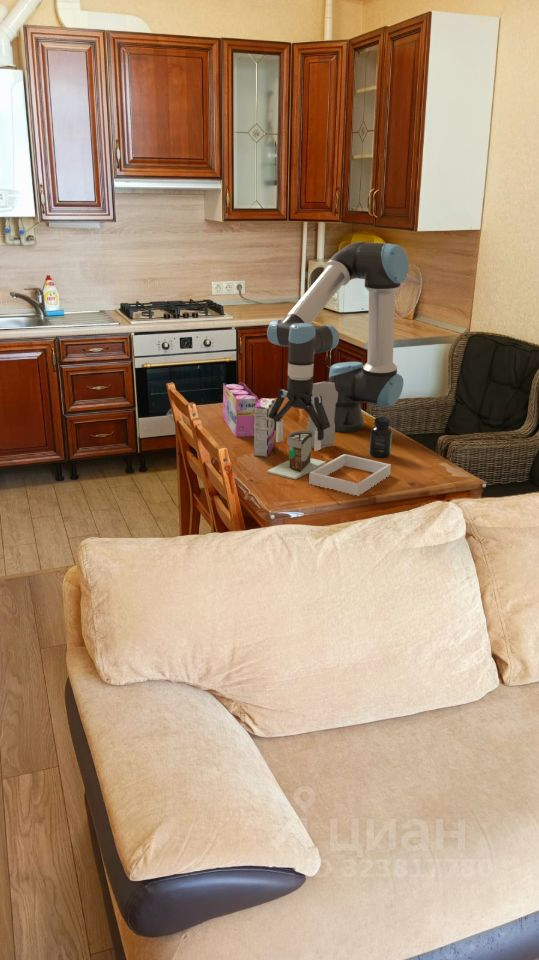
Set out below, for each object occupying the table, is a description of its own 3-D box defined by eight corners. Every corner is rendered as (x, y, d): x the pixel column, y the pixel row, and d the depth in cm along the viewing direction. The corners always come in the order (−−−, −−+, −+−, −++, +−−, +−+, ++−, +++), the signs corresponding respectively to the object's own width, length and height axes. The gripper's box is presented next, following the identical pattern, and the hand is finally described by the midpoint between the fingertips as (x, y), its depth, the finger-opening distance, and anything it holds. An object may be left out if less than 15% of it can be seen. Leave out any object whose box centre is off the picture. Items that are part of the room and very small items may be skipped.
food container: (293, 458, 245) (294, 428, 242) (311, 461, 243) (313, 430, 240) (280, 470, 234) (281, 439, 231) (299, 473, 232) (300, 441, 229)
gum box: (221, 418, 288) (221, 382, 283) (242, 417, 290) (242, 381, 285) (235, 437, 266) (236, 399, 261) (258, 436, 268) (259, 397, 263)
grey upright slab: (332, 443, 263) (336, 379, 255) (337, 446, 259) (341, 382, 251) (303, 445, 260) (305, 380, 252) (307, 449, 256) (310, 383, 248)
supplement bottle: (394, 456, 252) (397, 420, 248) (379, 459, 248) (382, 423, 244) (379, 450, 257) (382, 415, 253) (364, 454, 253) (367, 418, 249)
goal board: (298, 457, 248) (298, 455, 248) (325, 463, 243) (325, 461, 243) (267, 472, 234) (267, 470, 234) (295, 479, 229) (295, 477, 229)
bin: (343, 464, 243) (344, 453, 241) (390, 475, 235) (390, 464, 233) (309, 483, 226) (309, 472, 225) (357, 496, 218) (358, 484, 217)
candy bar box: (259, 445, 258) (260, 397, 253) (274, 446, 258) (275, 398, 252) (252, 456, 248) (253, 406, 242) (267, 457, 247) (269, 407, 241)
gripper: (343, 381, 225) (340, 450, 233) (272, 368, 238) (270, 434, 246) (331, 386, 219) (327, 456, 227) (258, 373, 232) (257, 440, 240)
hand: (298, 445), depth 236 cm, fingers open, 13 cm apart
